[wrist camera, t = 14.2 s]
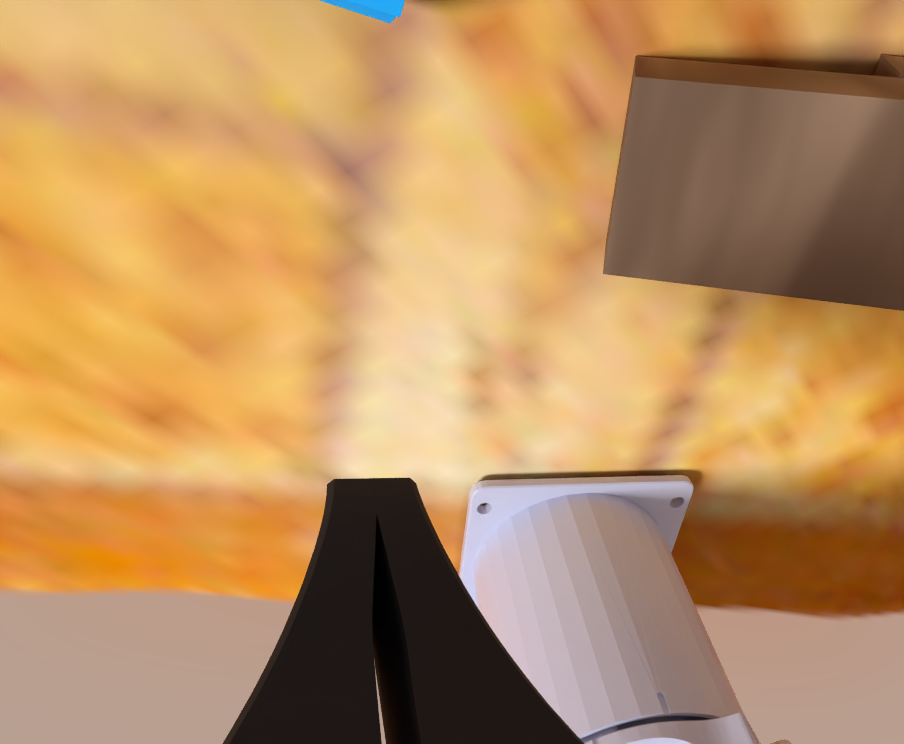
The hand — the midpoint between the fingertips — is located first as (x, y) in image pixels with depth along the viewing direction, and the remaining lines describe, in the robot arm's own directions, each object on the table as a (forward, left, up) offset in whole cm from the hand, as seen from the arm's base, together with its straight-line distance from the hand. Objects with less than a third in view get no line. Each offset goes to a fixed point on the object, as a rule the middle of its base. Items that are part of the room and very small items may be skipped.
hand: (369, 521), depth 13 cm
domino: (+3, -7, -9) cm, 12 cm away
